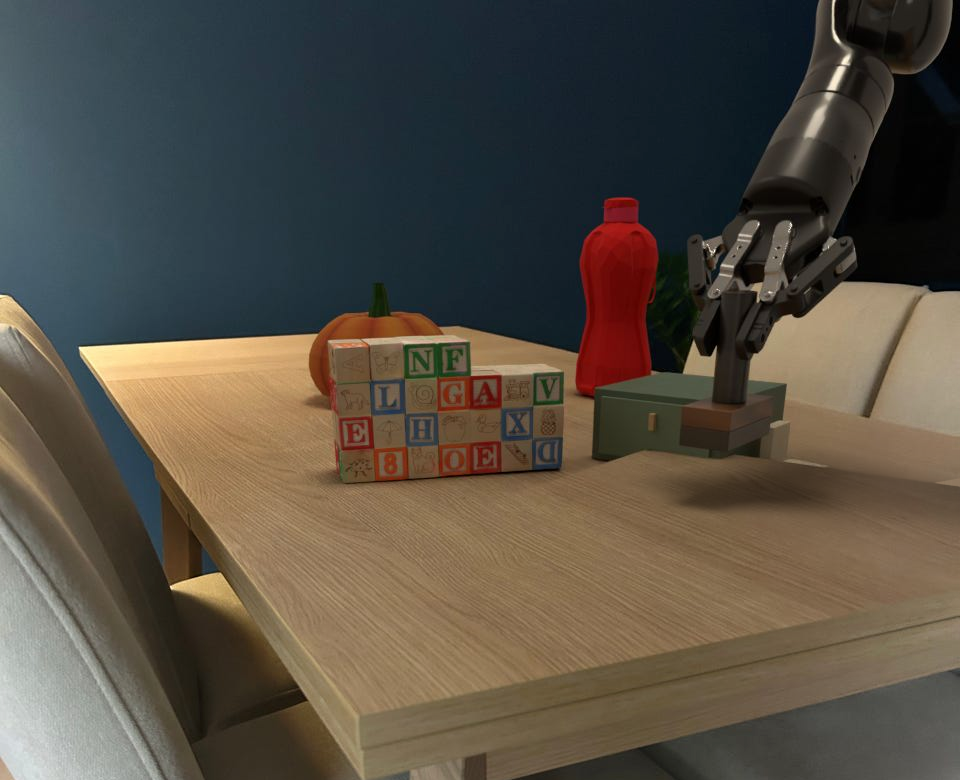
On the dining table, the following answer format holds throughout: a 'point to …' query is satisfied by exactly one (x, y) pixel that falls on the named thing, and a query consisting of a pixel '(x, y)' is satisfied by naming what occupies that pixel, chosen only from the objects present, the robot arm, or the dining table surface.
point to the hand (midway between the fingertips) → (722, 350)
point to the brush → (728, 390)
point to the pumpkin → (365, 332)
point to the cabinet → (662, 414)
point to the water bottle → (616, 298)
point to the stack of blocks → (439, 410)
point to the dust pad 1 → (775, 441)
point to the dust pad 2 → (804, 463)
